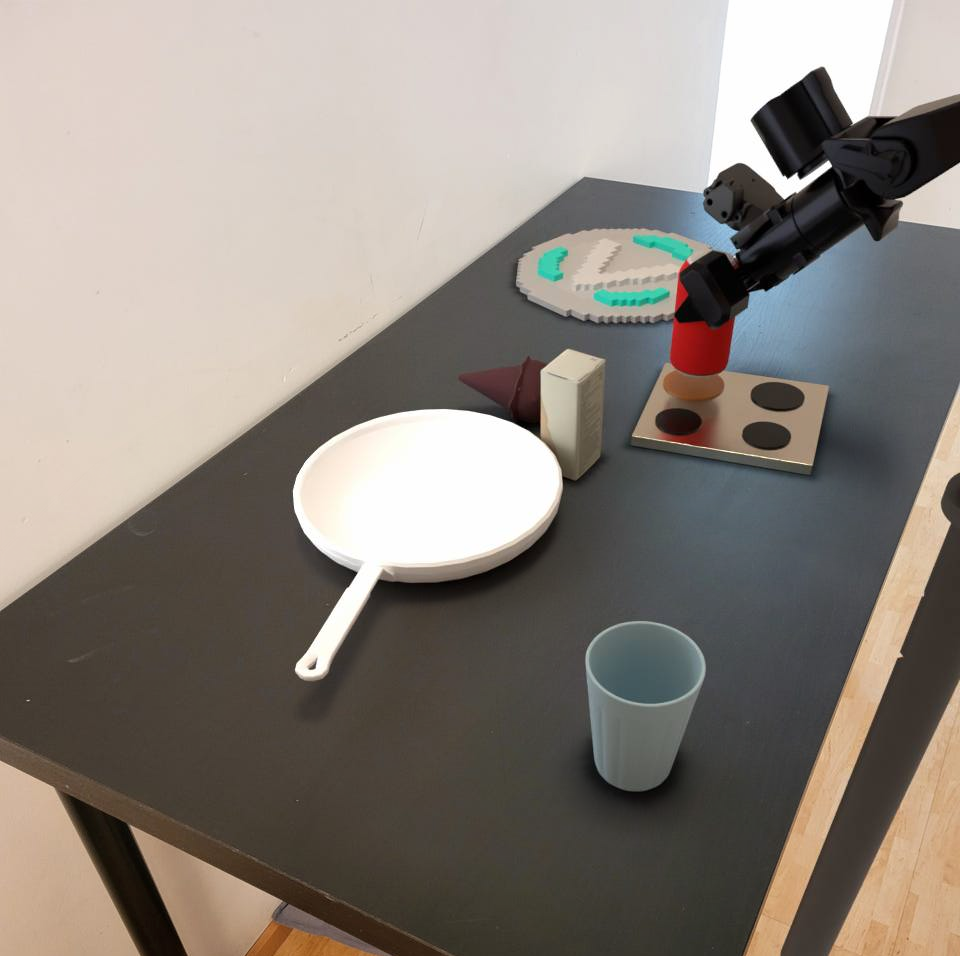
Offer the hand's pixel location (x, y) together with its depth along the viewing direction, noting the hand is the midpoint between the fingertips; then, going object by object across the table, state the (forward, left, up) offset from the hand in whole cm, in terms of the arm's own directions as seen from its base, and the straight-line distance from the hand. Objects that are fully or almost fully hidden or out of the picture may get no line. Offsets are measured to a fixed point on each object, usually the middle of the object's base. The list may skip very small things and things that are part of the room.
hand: (693, 307), depth 97 cm
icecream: (+15, +10, -10) cm, 21 cm away
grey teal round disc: (+14, -28, -10) cm, 32 cm away
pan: (+18, +36, -10) cm, 42 cm away
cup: (-7, +52, -10) cm, 54 cm away
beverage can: (-1, +1, -7) cm, 7 cm away
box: (+8, +17, -10) cm, 22 cm away
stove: (-6, +4, -10) cm, 12 cm away
